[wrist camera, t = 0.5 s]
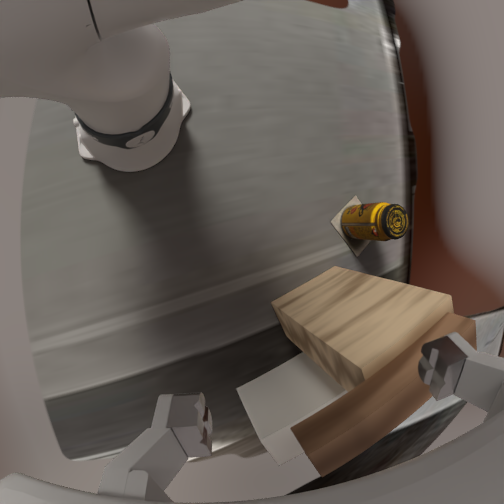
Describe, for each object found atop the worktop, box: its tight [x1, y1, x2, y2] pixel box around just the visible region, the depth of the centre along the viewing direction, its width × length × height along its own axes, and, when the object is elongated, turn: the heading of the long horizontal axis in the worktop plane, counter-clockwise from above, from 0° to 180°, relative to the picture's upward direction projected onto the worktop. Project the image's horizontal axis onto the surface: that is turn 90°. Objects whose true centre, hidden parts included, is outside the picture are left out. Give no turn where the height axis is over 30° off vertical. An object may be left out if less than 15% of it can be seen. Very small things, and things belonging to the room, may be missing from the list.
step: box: [236, 352, 348, 466], centre depth 44 cm, size 7×15×15 cm, turn 115°
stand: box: [271, 266, 454, 392], centre depth 38 cm, size 7×13×26 cm, turn 115°
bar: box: [290, 312, 477, 477], centre depth 23 cm, size 4×20×4 cm, turn 115°
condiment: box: [331, 195, 408, 257], centre depth 46 cm, size 7×8×12 cm
